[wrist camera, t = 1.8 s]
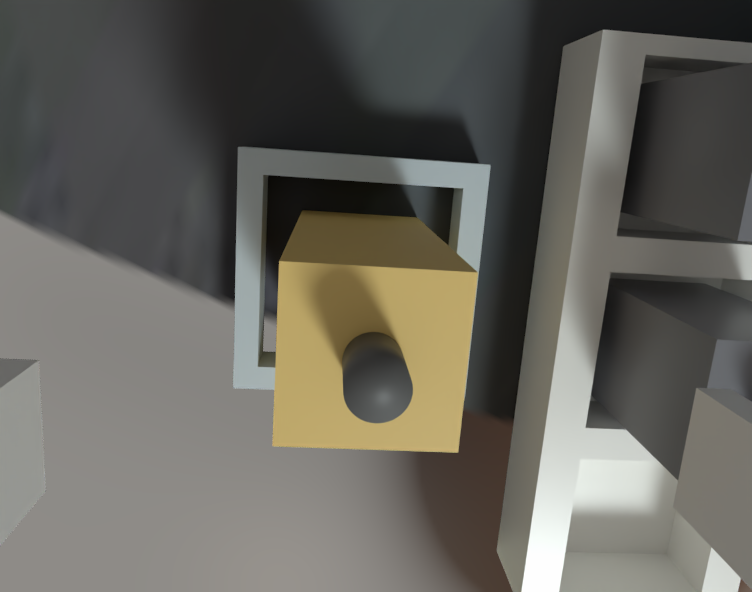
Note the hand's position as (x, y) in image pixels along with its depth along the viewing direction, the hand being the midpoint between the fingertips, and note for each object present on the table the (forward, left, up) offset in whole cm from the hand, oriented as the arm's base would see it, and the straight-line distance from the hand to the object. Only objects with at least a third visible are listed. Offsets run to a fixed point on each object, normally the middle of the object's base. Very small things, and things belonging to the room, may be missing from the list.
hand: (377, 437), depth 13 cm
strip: (+2, +13, -16) cm, 21 cm away
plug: (0, 0, -16) cm, 16 cm away
